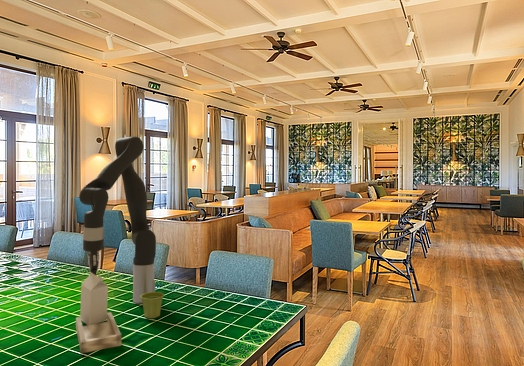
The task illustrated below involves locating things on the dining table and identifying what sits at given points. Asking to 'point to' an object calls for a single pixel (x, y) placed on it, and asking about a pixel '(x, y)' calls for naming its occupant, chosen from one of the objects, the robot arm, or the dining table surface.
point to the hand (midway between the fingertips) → (93, 280)
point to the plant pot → (152, 304)
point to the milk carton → (93, 300)
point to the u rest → (98, 335)
